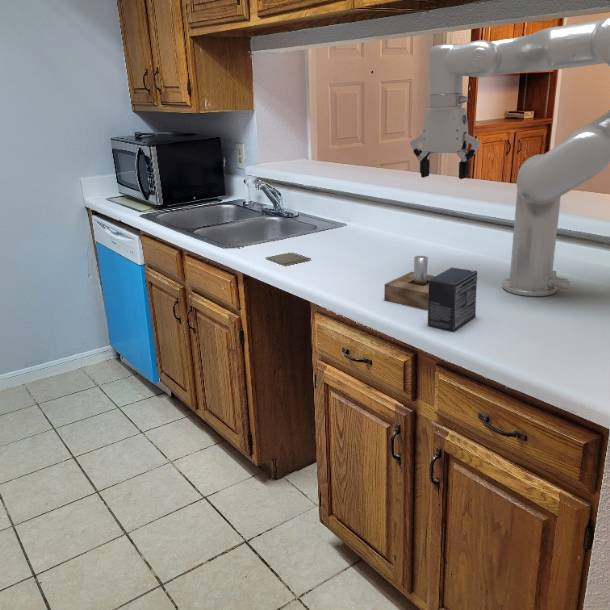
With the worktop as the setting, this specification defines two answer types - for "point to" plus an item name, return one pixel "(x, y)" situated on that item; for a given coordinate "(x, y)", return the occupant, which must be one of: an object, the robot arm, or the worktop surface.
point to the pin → (420, 270)
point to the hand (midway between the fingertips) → (443, 177)
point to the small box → (452, 299)
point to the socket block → (407, 291)
